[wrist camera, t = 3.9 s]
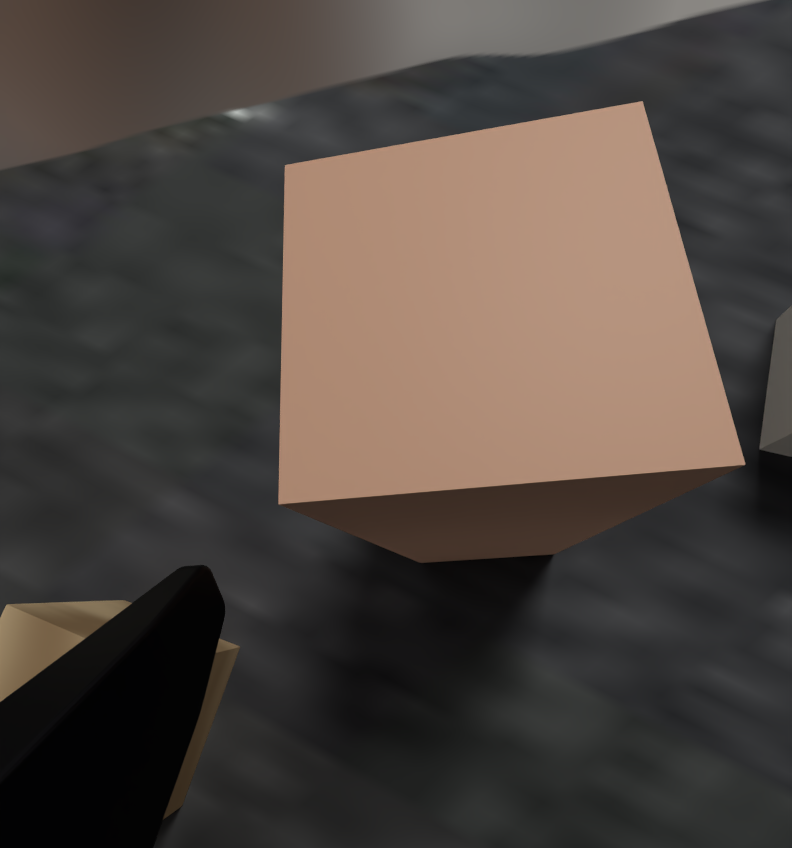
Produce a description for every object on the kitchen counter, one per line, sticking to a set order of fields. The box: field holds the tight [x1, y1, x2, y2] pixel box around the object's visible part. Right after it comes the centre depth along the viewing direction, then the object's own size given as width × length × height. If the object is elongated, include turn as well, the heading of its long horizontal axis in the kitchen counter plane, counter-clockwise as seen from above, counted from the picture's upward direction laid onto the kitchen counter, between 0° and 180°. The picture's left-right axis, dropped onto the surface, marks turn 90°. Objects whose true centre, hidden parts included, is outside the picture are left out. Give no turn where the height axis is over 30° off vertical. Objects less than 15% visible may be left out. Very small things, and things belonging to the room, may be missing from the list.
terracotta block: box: [279, 101, 745, 563], centre depth 12 cm, size 4×4×13 cm
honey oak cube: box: [0, 600, 240, 820], centre depth 15 cm, size 5×5×5 cm
